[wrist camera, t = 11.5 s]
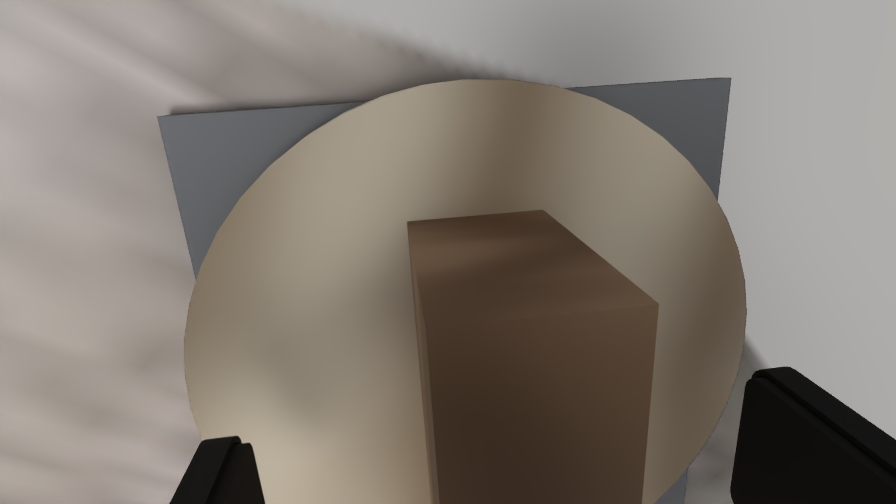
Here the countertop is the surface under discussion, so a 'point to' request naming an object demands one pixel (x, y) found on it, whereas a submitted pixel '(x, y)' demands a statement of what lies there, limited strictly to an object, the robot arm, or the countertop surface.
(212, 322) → the lid
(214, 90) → the countertop surface
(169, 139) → the mat
